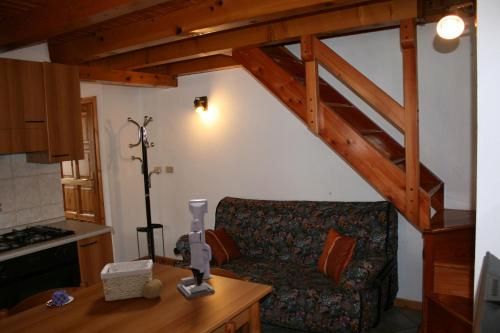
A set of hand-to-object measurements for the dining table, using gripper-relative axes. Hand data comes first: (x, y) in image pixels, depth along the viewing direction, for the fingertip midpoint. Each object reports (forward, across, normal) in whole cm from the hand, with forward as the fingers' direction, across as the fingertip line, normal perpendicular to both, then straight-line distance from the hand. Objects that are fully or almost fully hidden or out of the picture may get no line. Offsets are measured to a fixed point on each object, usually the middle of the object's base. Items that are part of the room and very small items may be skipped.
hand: (198, 282), depth 197 cm
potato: (+6, -9, -21) cm, 23 cm away
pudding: (+6, -30, -62) cm, 69 cm away
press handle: (+4, 0, 0) cm, 4 cm away
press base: (+6, -6, 0) cm, 8 cm away
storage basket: (+6, -20, -30) cm, 37 cm away
